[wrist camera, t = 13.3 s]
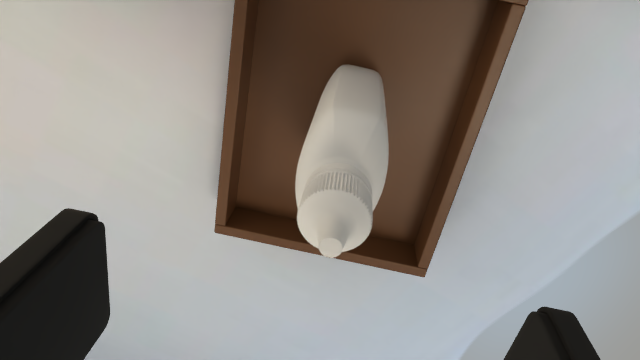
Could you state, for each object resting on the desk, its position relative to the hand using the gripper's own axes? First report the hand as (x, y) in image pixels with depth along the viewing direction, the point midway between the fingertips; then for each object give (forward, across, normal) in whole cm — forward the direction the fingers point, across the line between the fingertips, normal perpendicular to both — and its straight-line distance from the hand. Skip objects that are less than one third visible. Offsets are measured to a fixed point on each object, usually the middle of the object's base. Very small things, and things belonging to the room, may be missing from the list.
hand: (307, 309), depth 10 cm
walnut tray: (+16, -1, +1) cm, 16 cm away
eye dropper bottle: (+15, 0, +1) cm, 15 cm away
